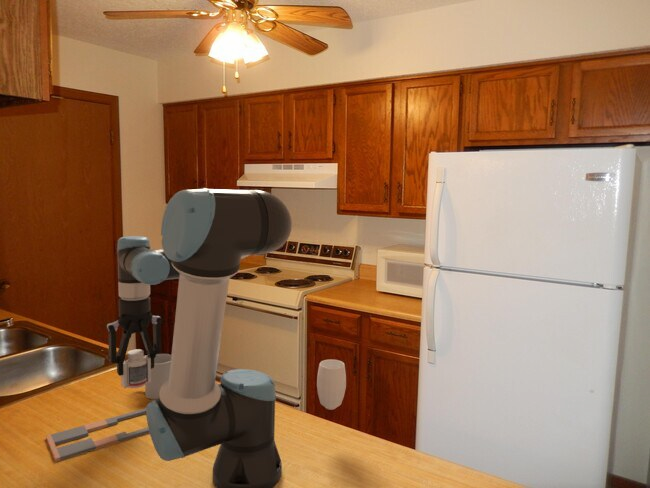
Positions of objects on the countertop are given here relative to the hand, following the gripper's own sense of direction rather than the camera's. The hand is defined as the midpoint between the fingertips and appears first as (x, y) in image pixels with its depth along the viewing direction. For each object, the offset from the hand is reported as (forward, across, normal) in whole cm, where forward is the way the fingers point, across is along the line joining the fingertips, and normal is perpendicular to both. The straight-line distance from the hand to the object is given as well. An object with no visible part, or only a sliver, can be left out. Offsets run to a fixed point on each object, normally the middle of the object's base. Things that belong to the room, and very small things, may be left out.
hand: (136, 383), depth 121 cm
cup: (+11, -36, +37) cm, 53 cm away
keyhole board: (+11, +8, 0) cm, 14 cm away
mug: (+12, -10, -16) cm, 22 cm away
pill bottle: (0, 0, 0) cm, 0 cm away
